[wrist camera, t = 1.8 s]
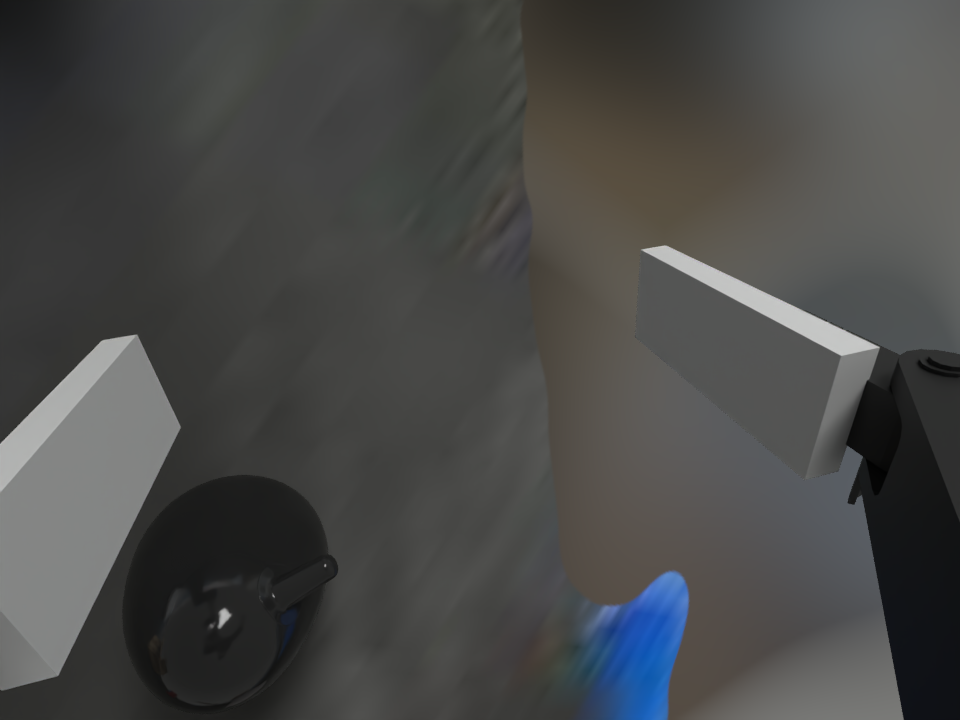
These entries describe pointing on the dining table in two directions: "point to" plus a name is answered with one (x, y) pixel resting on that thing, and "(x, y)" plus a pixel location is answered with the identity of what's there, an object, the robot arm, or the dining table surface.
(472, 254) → the dining table surface
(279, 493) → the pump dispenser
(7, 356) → the dining table surface
